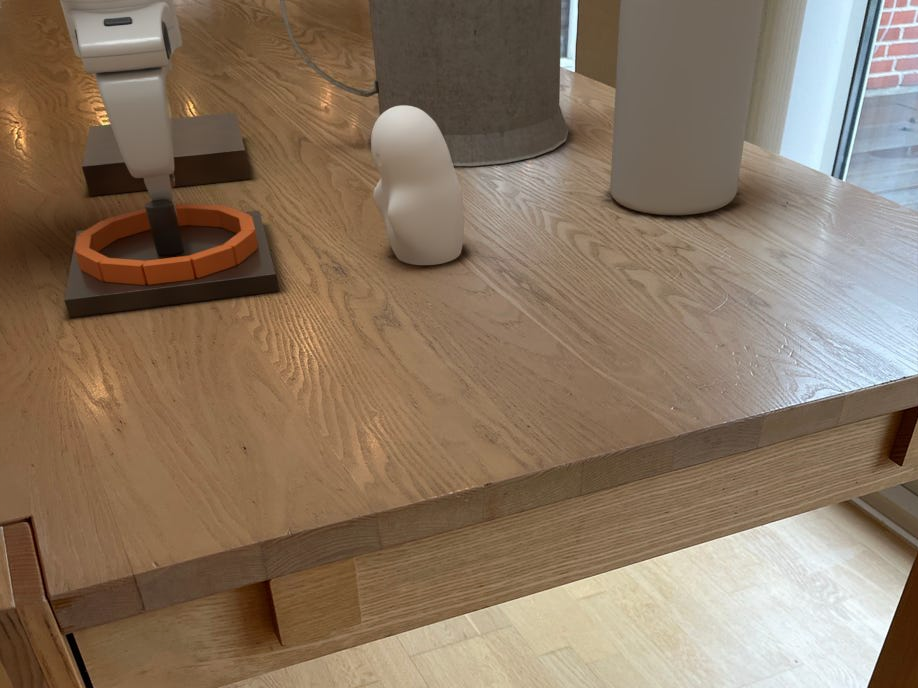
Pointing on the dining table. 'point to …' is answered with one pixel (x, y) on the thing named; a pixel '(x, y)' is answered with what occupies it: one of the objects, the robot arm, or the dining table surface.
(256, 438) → the dining table surface
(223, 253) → the ring
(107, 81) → the robot arm
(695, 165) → the cylinder vase
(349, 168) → the dining table surface
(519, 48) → the pitcher
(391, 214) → the figurine
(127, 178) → the stand
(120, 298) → the peg stand
